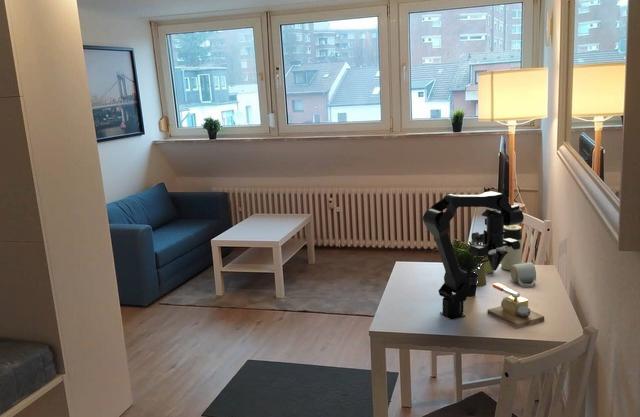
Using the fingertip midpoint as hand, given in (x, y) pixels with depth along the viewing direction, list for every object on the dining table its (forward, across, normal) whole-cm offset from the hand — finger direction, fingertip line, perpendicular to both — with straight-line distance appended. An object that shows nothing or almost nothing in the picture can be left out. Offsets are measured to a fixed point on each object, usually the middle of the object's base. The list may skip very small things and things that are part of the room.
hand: (494, 270), depth 206 cm
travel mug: (+13, -34, -28) cm, 46 cm away
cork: (+13, -10, -20) cm, 26 cm away
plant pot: (+13, -22, -30) cm, 39 cm away
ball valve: (+11, +1, +12) cm, 17 cm away
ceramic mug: (+13, -26, -12) cm, 31 cm away
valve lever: (+6, +1, +7) cm, 9 cm away
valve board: (+13, +1, +12) cm, 18 cm away
